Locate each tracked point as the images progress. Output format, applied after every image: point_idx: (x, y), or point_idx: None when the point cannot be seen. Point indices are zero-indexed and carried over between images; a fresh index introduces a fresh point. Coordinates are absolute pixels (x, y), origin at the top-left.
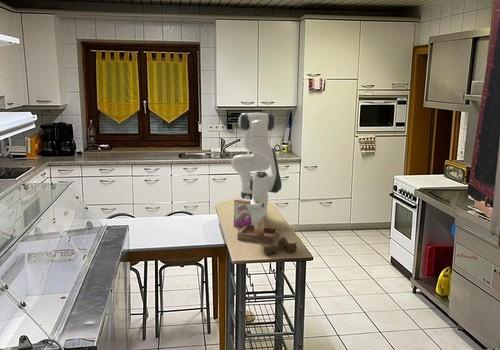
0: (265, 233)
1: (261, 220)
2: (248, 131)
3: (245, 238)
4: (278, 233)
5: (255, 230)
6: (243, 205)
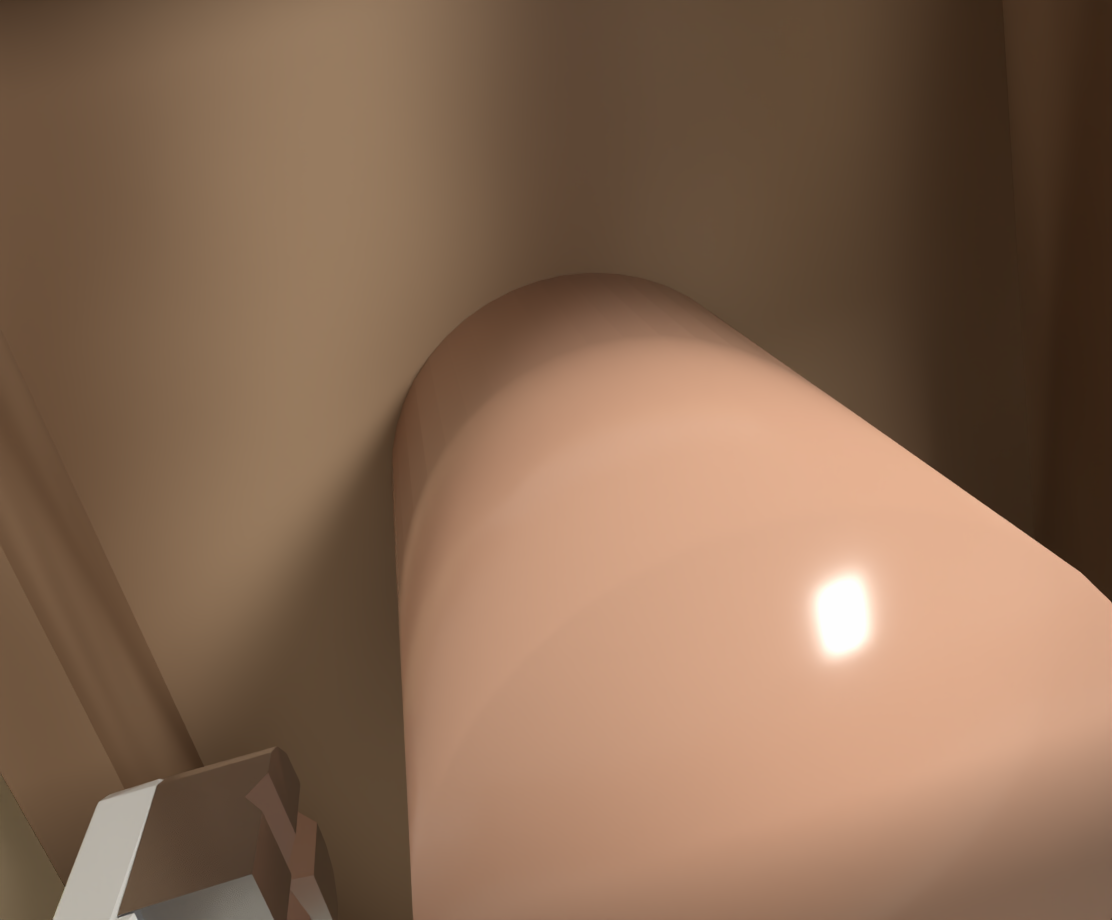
0: None
1: (1107, 825)
2: None
3: None
4: None
5: (402, 527)
6: None
